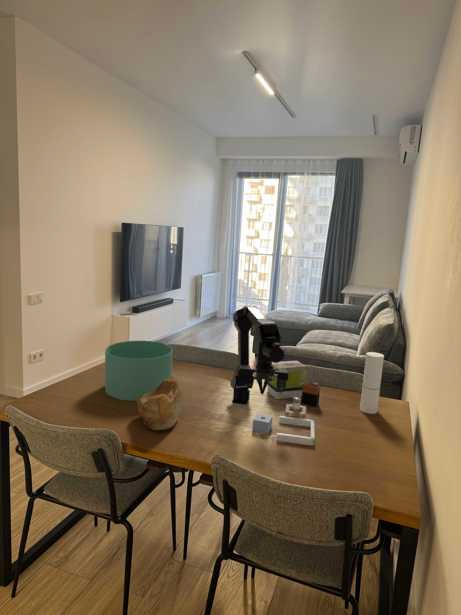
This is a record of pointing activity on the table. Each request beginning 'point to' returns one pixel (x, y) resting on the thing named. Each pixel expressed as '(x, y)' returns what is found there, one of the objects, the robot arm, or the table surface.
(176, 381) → the rough brown rock
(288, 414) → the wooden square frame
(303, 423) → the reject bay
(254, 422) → the block
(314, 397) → the battery
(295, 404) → the cylinder
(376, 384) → the cylindrical container
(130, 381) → the container
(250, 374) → the robot arm
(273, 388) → the tea box
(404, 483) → the table surface
